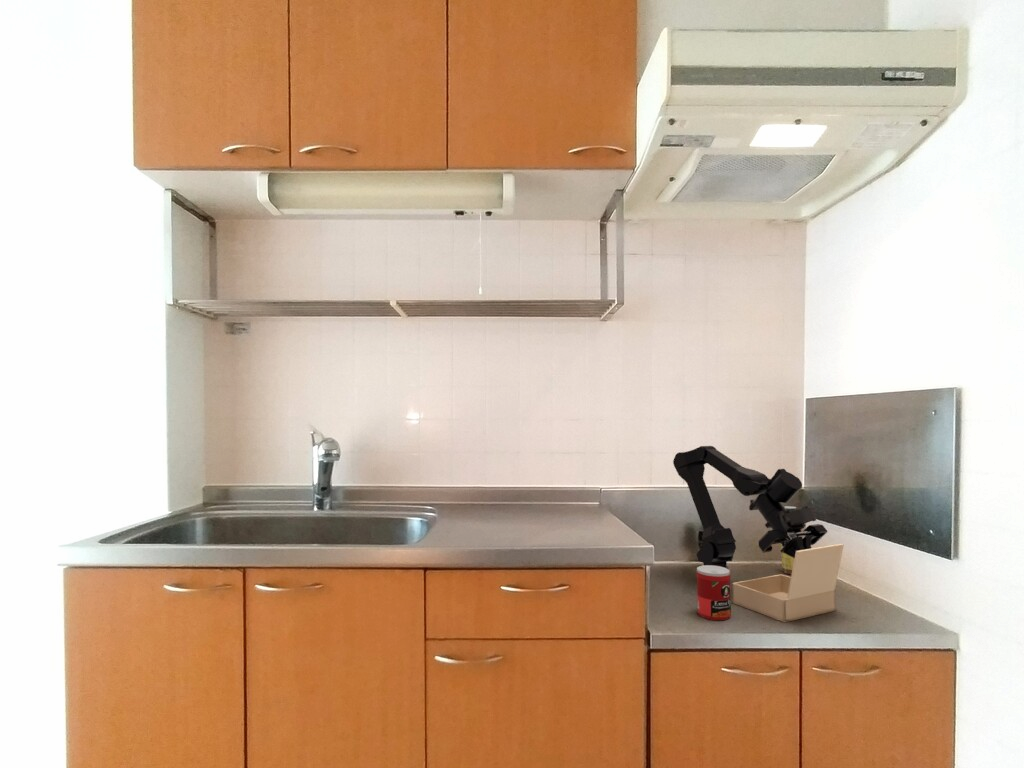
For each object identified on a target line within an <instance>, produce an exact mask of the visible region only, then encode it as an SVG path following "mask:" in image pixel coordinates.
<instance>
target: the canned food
mask: <svg viewBox="0 0 1024 768" xmlns="http://www.w3.org/2000/svg"><path fill="white" fill-rule="evenodd" d="M730 571H731V570H730V568H729V569H727V568H724V567H720V566H713V565H700V566H697V567H696V601H697V603H696V604H697V605H696V606H697V613H698V615H699V616H700V617H702V618H704V619H707V620H711V621H726V620H729V619H730V618H731V615H732V585H731V572H730Z"/></svg>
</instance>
